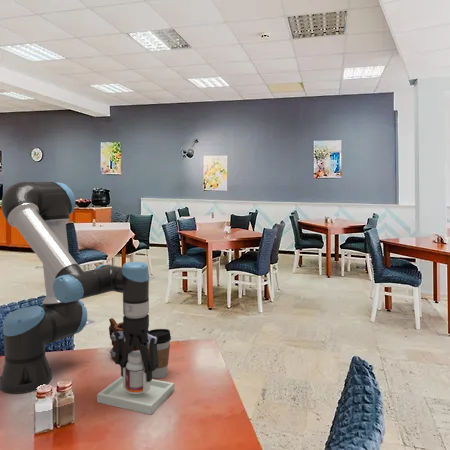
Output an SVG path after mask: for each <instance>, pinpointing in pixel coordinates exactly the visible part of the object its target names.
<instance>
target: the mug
mask: <svg viewBox="0 0 450 450" xmlns="http://www.w3.org/2000/svg"><path fill="white" fill-rule="evenodd" d="M108 321H109V323H110V324H109V326H108V332H109V333H108V335H109V339H110V340H111V346H112V348H111V349H110V350H109V354H110V356H111V358H112V361H115V352H116V338H115V333H116V332H118V331H120V330H122V331H123V330H124V328H123V321H122V322H119V323H118V322H117V321H116V319H114V318H113V317H111V318H109V319H108ZM125 344H126V338H125V337H124V349H123V353H124V350H125ZM132 351H140V350H138V347H137V346H135V345H134V346H133V348H132ZM132 351H131V352H132Z"/></svg>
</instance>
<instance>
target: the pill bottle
mask: <svg viewBox="0 0 450 450" xmlns="http://www.w3.org/2000/svg"><path fill="white" fill-rule="evenodd" d="M144 371H145V367H144V364H143V360H142V357H141V353H140V351H132V352H130V353H129V354H128V362H127V364H126V390H127V392H128V393H130V394H140V393H143V372H144Z"/></svg>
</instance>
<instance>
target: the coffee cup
mask: <svg viewBox="0 0 450 450" xmlns="http://www.w3.org/2000/svg"><path fill="white" fill-rule="evenodd" d="M148 331H149V333H150V335H152V336H154V337H155V336H158V341H157V353H158V368H157V369H155V370H154V371H152V379H164V378H165V377H166V376H168V372H169V371H168V369H169V357H170V349H171V344H170V341H171V339H172V336H171V331H170V330H169V329H168V328H167V329H166V328H154V329H151V330H148ZM148 342H149V340H148V339H147V344H148V346H147V347H148V351H149V344H150V343H148ZM149 354H150V352H149Z"/></svg>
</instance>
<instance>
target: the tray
mask: <svg viewBox="0 0 450 450" xmlns="http://www.w3.org/2000/svg"><path fill="white" fill-rule="evenodd" d="M174 392H175V383H174V382H171V381H170V382H168V381H164V380H159V379H156V378H152V380H151V381H150V390H149V391H148V392H147V393H140V394H130V393H128V392H127V390H126V389H123V377H122V376H121V375H120V377H118V378H117V379H115V380H114V381H113V382H111V383H110V384H109V385H107V386H106V387H105V388H104V389H102V390H101V391H99V392H98V393H97V395H96V398H97V399H96V401H97V403H99V404H103V405H106V406H107V405H108V406H112V407H115V408H116V407H117V408H121V409H125V410H128V411H129V410H130V411H134V412H137V413H141V414H146V415H152V414H154V413H155V411H156V410H157V409H159V408H160V407H161V405H163V403H164V402H165V401H166V400H167V399H168V398H169V397H170V396H171V395H172V393H174Z"/></svg>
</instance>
